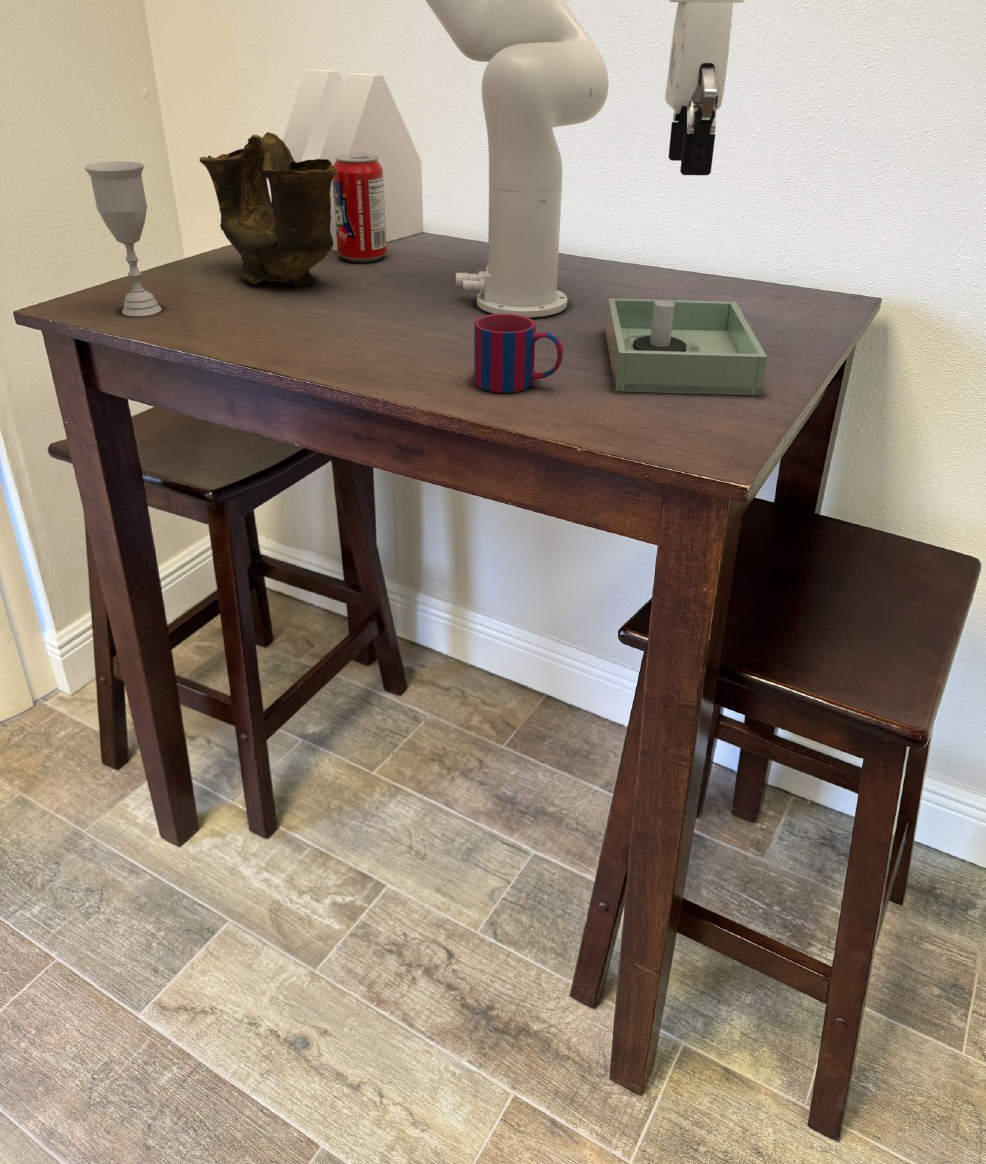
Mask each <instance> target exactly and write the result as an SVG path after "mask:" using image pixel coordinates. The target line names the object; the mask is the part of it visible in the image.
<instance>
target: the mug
mask: <svg viewBox="0 0 986 1164" xmlns="http://www.w3.org/2000/svg"><path fill="white" fill-rule="evenodd" d="M473 325H474V327H473V328H474V329H473V331H474V332H473V345H474V346H473V348H474V349H473V358H474V359H473V383H474V384H475V386H476V387H478V388H480V389H481V390H483V391H486V392H490V393H496V394H497V393H499V394H514V393H519V392H523V391H527V390H529V389H530V388H532V387H533V384H534V381H535V380H540V379H545V378H548V377H549V376H551V375H553V374H555V372H557V370H559V368H560V366H561V364H562V360H563V356H564V349H563V343H562V341H561V339H560V338H559V336H558V335H556V334H554V333H552V332H547V331H546V332H545V331H544V332H537V333H536V331H537V330H536V328H537V327H536V326H537V324H536V322H535V320H534V319H532V318H528V317H525V316H521V315H515V314H492V313H491V314H485V315H483V316H480V317H478V318H477V319H475V321H474V323H473ZM544 338H546V339H550V340H551V341H552V342H553V343H554V345H555V347H556V361H555V364H554V366H552V368H551V369H549V370H547V371H543V372H536V371H535V360H536V359H535V358H536V355H535V354H536V342H537V341H538V340H540V339H544Z"/></svg>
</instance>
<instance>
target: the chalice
mask: <svg viewBox="0 0 986 1164" xmlns="http://www.w3.org/2000/svg"><path fill="white" fill-rule="evenodd" d="M144 167H145V165H144V163H141V162H137V161H126V160H123V161H121V160H113V161H112V160H111V161H99V162H93V163H89V164H86V165H84V166H83V168H84V171H86V173H87V174H88V176H89V177H90V181H91V186H92V191H93V195H94V201H95V206H96V209H97V212H98V213H99V215H100V217H101V219H102V221H103V223H104V224H105V226H106V228H107V229H108V230H109V232H110V233H111V235H112V236H113V238H114V239H115V241H116V242H118V243H120V244H123V245H124V247H125V249H126V258H125V261H126V262H127V264H128V266H129V271H128V273H127V275H128V276H129V278H130V279H131V282H132V288H131V291H129V292H127V294H126V295H125V297H124V302H123V308H122V310H121V313H122V314H123V315H124V316H128V317H147V316H153V315H156V314H158V313H160V312H162V307H161V305H159V303H158V301H157V299H156V298H155V296H154V294H153V293H151V292H150V291H149V290H145V288H144V287H142V283H141V276H142V275H143V272H142V271H140V269H139V268H138V261H139V257H138V256H137V255H136V252H135V244H136V243H137V242H139V241H140V240H141V237H142V234H143V231H144V227H145V222H146V217H147V210H148V204H147V198H146V193H145V186H144V181H143V177H142V175H143V171H144Z"/></svg>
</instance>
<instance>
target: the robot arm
mask: <svg viewBox="0 0 986 1164" xmlns="http://www.w3.org/2000/svg"><path fill="white" fill-rule="evenodd" d="M425 2H426V4H427V5H428V6H429V8H430V9H431V11H432V13H433V14H434V15H435V17H436V18H437V20H438V21H439V23H440V24H441V26H442V27H443V29H444V30H445V32H446V33H447V34H448V36H449V37H450V39H451V40H452V42H453V44H455V46H456V48H457V49H458V50H459V52H460V53H461V54H463V56H465V57H466V58H468V59H469V60H472V61H475V62H482V63H487V64H486V67H485V68H484V71H483V73H482V78H481V101H482V102H481V103H482V109H483V113H484V115H483V116H484V119H485V126H486V134H487V145H488V146H487V147H488V149H487V150H488V235H487V237H488V239H487V241H488V245H487V249H488V250H487V265H486V267H485V270H479V271H478V273H469V272H456V273H455V287H456V288H462V291H468V292H469V291H472V292H473V291H479V292H478V293H477V294H476V306H477V307H478V308H479V309H480V310H482V311H484V312H486V313H489V314H491V315H492V314H515V315H521V316H525V317H528V318H530V319H532V318H543V317H549V316H552V315H557V314H559V313H562V312H563V311H564V310H565V309H566V308H567V307H568V296H567V295H566V294H565V293H564V292H562V291H561V290H558V275H559V274H558V273H559V255H560V254H559V251H560V235H561V215H562V214H561V213H562V195H563V161H562V156H561V152H560V148H559V145H558V143H557V140H556V136H555V132H554V128H559V127H564V126H566V127H567V126H572V125H579V124H582V123H586V122H587V121H589V120H592V119H593V118H594V117H596V115H598V113H600V111H601V110H602V109H603V107H604V106H605V103H606V100H607V97H608V93H609V73H608V70H607V66H606V63H605V61H604V58H603V56H602V54H601V52H600V50H599V48H598V47H597V45H596V44H595V43H594V41H593V40H592V38H591V37H590V35H589V34H588V32H587V31H586V29H585V28H584V26H583V25H582V23H581V22H580V21H579V19H578V18H577V16H576V15H575V14H574V12H573V11H572V9H571V8H570V7H569V5H568V4H567V2H566V1H565V0H425ZM668 2H669V3H677V7H676V12H675V18H674V23H673V31H672V38H671V46H670V55H669V61H668V70H667V79H666V87H665V95H664V100H665V103H666V104H667V105H668V106H669V108H671V109H673V115H672V121H671V125H670V136H669V138H670V139H669V145H668V159H669V160H670V161H673V162H674V161H675V162H677V161H678V162H680V167H679V168H680V169H679V170H680V171H679V172H680V174H681V175H682V176H709V175H711V173H712V166H713V158H714V150H715V142H716V125H717V123H716V121H717V120H716V119H717V111H718V110H719V109H720V108H721V106H722V103H723V99H724V93H725V85H726V78H727V69H728V62H729V54H730V53H729V51H730V41H731V32H732V26H733V25H732V21H733V20H732V18H733V10H734V9H733V8H734V4H737V3H740V4H742V3H744V2H745V0H669V1H668Z"/></svg>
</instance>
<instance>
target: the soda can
mask: <svg viewBox="0 0 986 1164" xmlns="http://www.w3.org/2000/svg"><path fill="white" fill-rule="evenodd" d="M335 160H336V161H335V163H334V165H333V166H334V169H336V171H337V173H336V175H335V176H334V177H333V179H332V186H333V200H334V213H335V227H336V240H337V251H336V252H337V254H338V256H339V257H341V258H343V259H344V260H346V261H348V262H352V263H371V262H376V261H378V260H380V259H381V258H383V257H384V256H386V255H387V250H388V249H387V248H388V246H387V245H388V243H387V242H386V223H385V201H384V179H383V168H382V166H381V165H380V163H379V162H378V157H377V156H375V155H370V154H343V155H338V156H336V157H335Z"/></svg>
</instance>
